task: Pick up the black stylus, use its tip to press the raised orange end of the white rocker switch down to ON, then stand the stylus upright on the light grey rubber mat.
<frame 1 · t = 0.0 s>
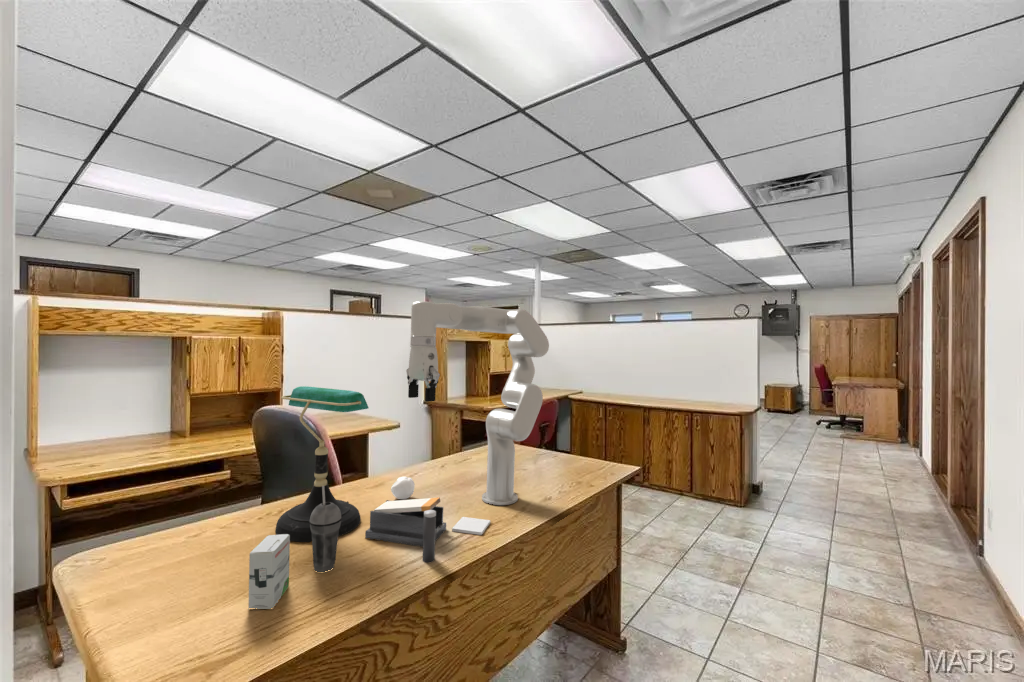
hand: (421, 399, 135), 37 cm above the table, tool pointing down, fingers open, 9 cm apart
dark grey boxy piece: (406, 533, 127), on the table
white rounded lump: (402, 499, 155), on the table
stylus mat: (471, 526, 133), on the table
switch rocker: (407, 505, 127), point 8 cm above the table, hinge at -10.0°
ink box: (269, 599, 94), on the table
banker's lamp: (319, 525, 132), on the table
beverage cup: (324, 568, 107), on the table
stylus: (428, 559, 113), on the table
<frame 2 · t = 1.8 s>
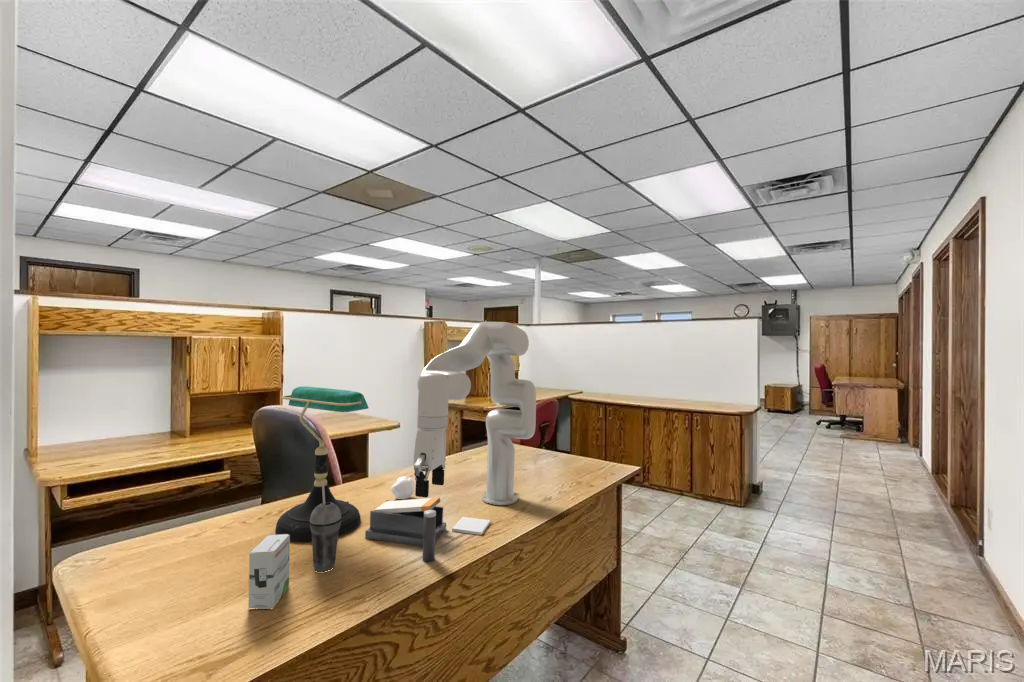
hand: (430, 490, 113), 18 cm above the table, tool pointing down, fingers open, 9 cm apart
nothing on the table moved.
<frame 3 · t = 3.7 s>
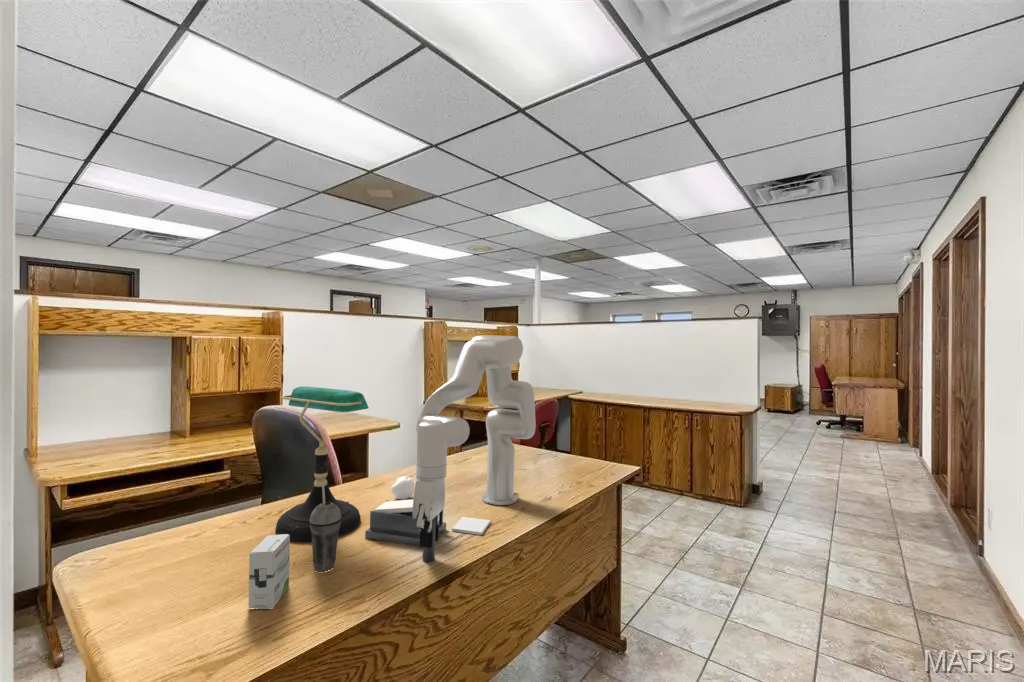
hand: (429, 542, 113), 4 cm above the table, tool pointing down, fingers closed on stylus, 3 cm apart
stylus: (428, 559, 113), on the table, touching gripper
everything else where it was.
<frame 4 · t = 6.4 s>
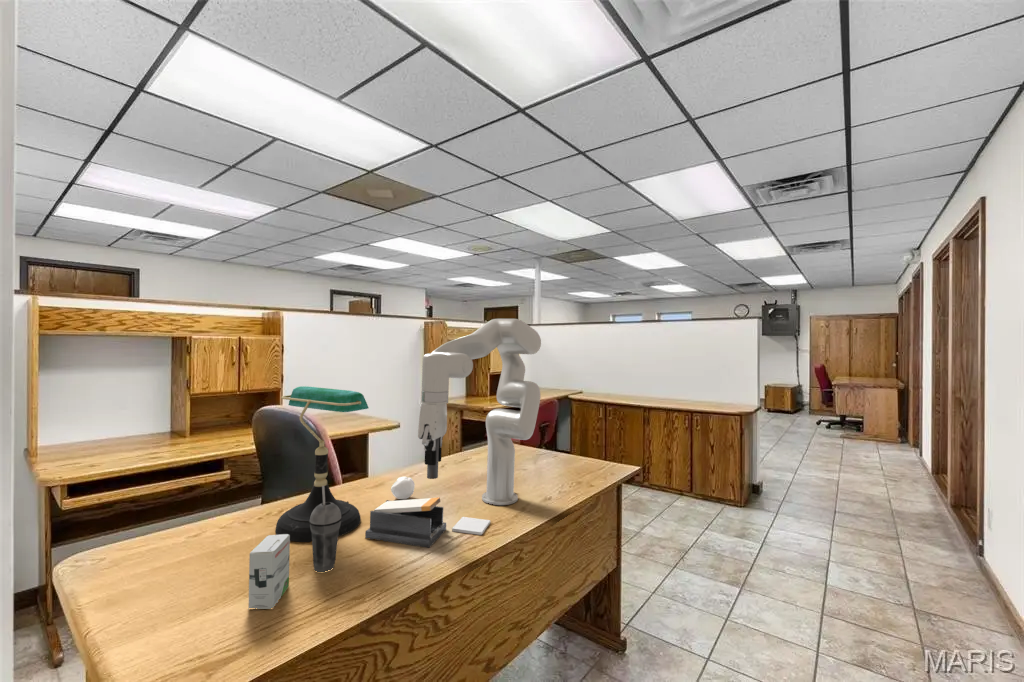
hand: (432, 462, 125), 21 cm above the table, tool pointing down, fingers closed on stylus, 3 cm apart
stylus: (432, 477, 125), point 17 cm above the table, touching gripper
everything else where it was.
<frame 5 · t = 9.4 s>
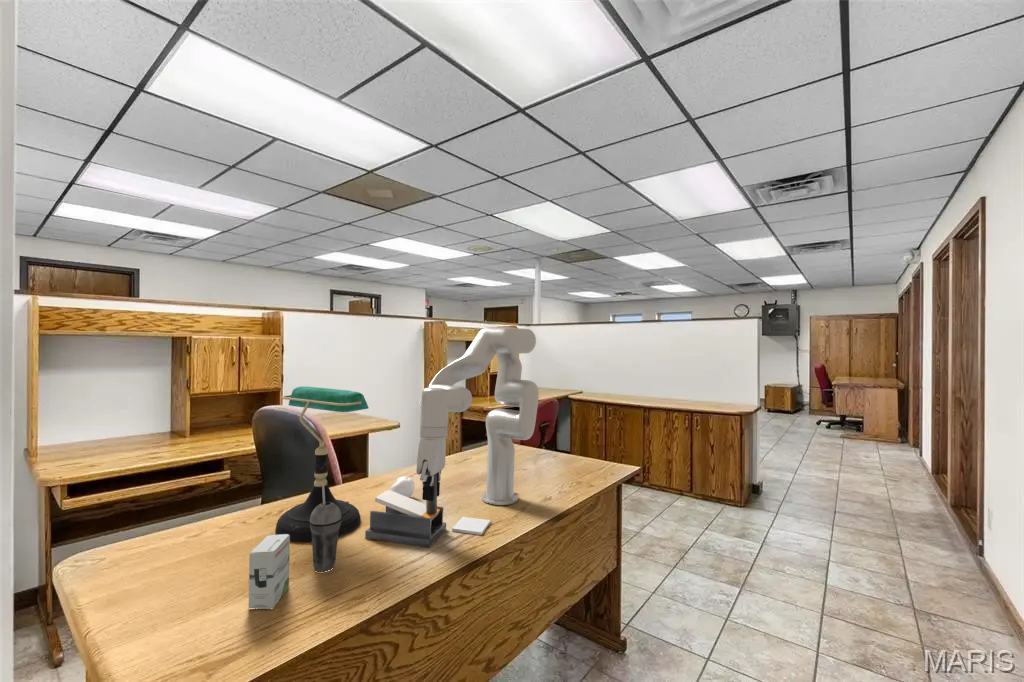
hand: (430, 497, 125), 11 cm above the table, tool pointing down, fingers closed on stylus, 3 cm apart
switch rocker: (407, 505, 127), point 8 cm above the table, hinge at 13.8°, touching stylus
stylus: (431, 511, 125), point 7 cm above the table, touching gripper, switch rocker
everything else where it was.
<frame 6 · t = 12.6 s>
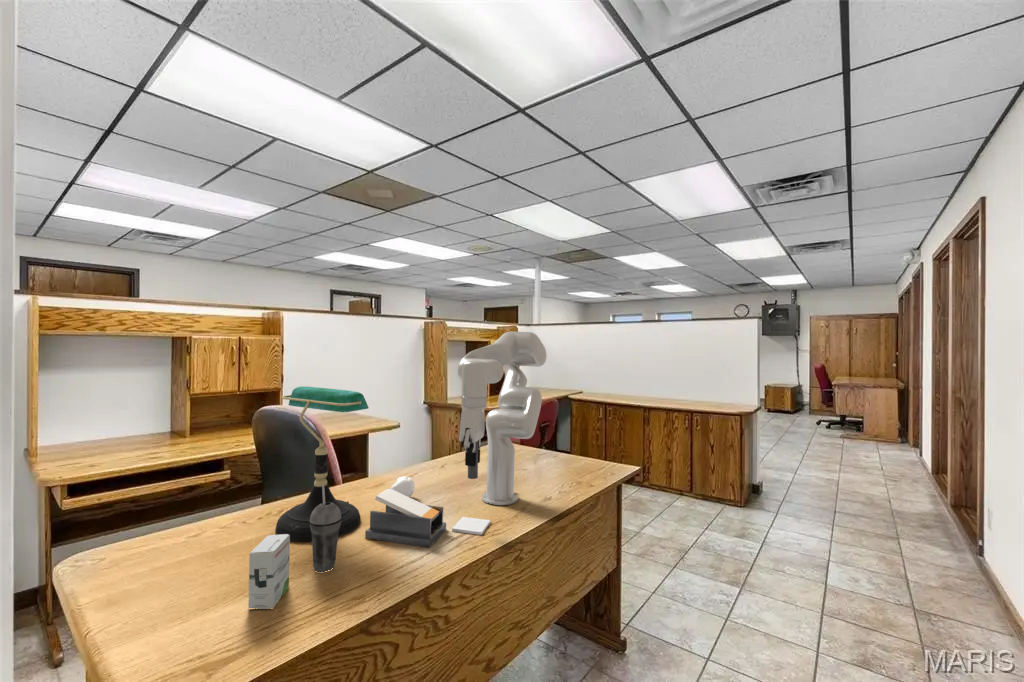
hand: (472, 463, 133), 19 cm above the table, tool pointing down, fingers closed on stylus, 3 cm apart
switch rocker: (407, 505, 127), point 8 cm above the table, hinge at 17.4°
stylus: (472, 477, 133), point 15 cm above the table, touching gripper
everything else where it was.
when the fingers open (5 cm above the table, at t = 15.5 s): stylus stays where it is, resting on stylus mat.
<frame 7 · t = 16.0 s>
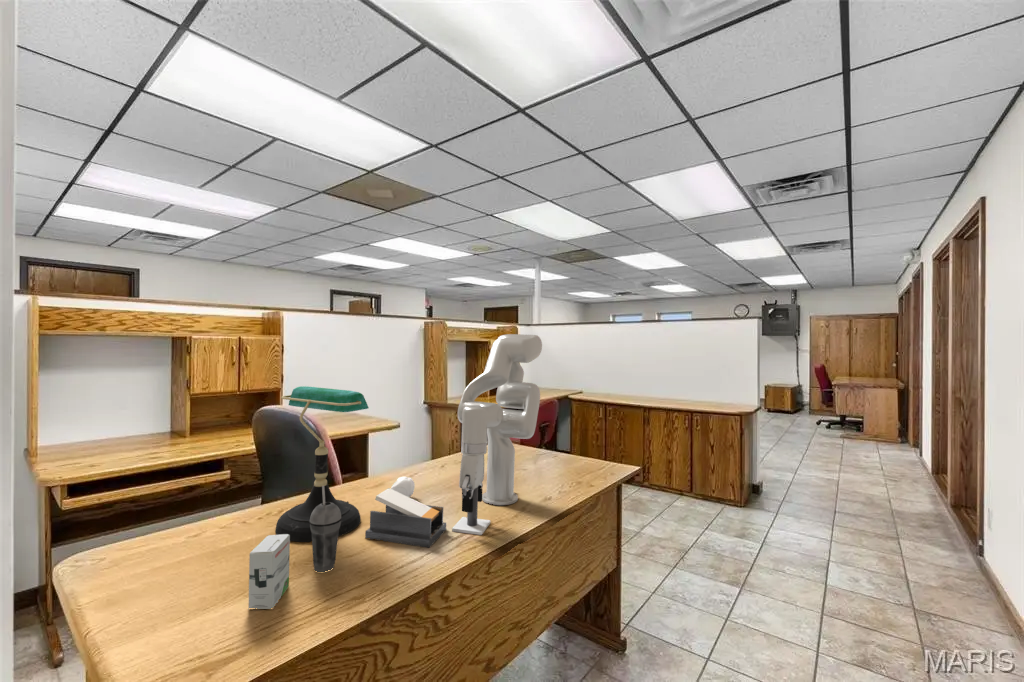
hand: (472, 506, 133), 6 cm above the table, tool pointing down, fingers open, 8 cm apart
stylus: (472, 524, 133), point 1 cm above the table, touching stylus mat
everything else where it was.
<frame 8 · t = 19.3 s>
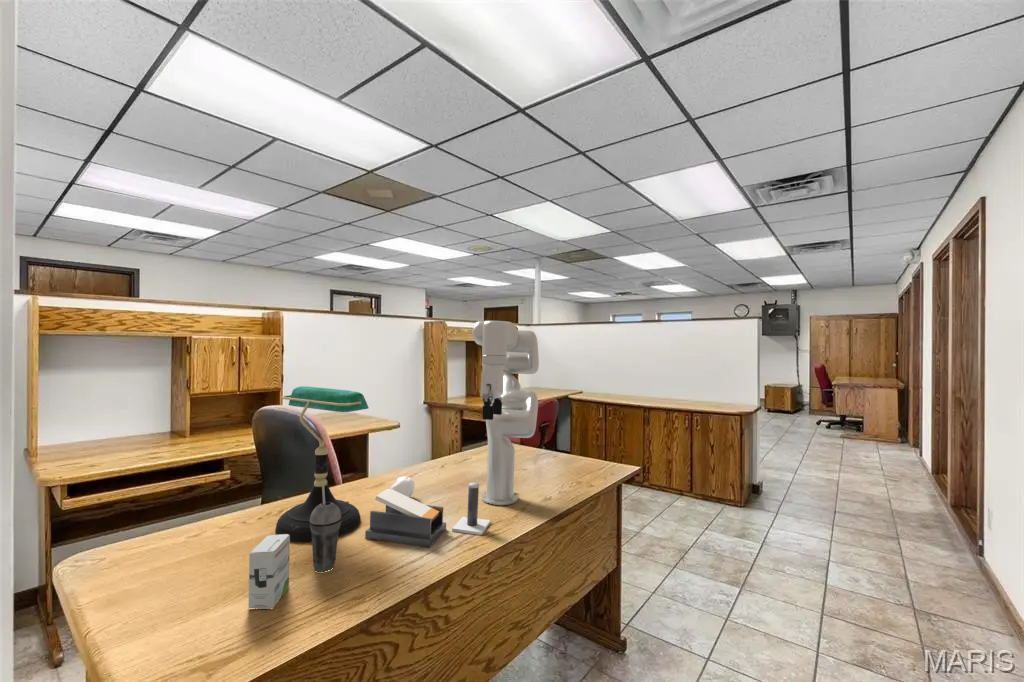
hand: (492, 416, 137), 32 cm above the table, tool pointing down, fingers open, 9 cm apart
nothing on the table moved.
at the end: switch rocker at +17° (first picture: -10°); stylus 0.1 cm off-centre on the stylus mat, point 0.8 cm above the stylus mat's base; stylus tilted 1° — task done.
